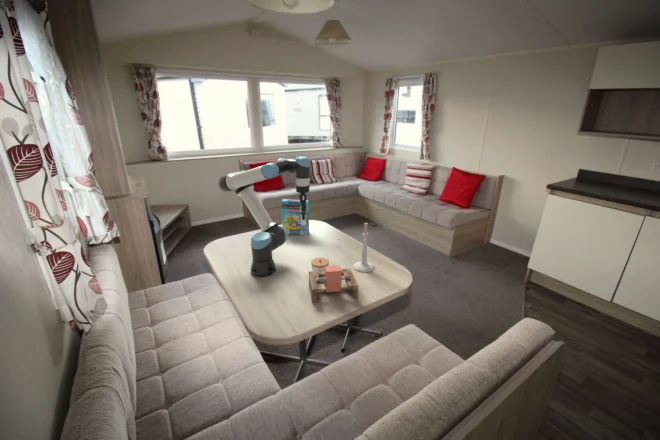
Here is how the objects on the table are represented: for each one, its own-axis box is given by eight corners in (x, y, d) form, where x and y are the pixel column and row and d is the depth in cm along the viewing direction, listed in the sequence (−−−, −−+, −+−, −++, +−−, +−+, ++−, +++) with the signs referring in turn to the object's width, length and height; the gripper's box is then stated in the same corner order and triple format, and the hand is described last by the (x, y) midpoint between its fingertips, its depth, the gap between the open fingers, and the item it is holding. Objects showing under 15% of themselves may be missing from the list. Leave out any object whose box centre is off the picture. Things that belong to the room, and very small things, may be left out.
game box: (282, 233, 241) (280, 200, 231) (284, 230, 246) (283, 198, 237) (307, 235, 237) (306, 202, 228) (309, 232, 243) (308, 200, 234)
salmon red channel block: (326, 292, 160) (326, 271, 156) (324, 286, 166) (324, 266, 162) (341, 290, 161) (341, 270, 157) (339, 284, 167) (339, 265, 163)
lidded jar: (316, 279, 178) (315, 265, 174) (308, 271, 187) (308, 257, 183) (332, 275, 182) (332, 261, 179) (324, 267, 191) (324, 253, 188)
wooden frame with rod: (312, 302, 156) (311, 286, 153) (308, 283, 173) (308, 268, 170) (357, 298, 160) (358, 282, 157) (350, 280, 177) (350, 265, 173)
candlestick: (378, 268, 189) (381, 224, 179) (361, 274, 183) (363, 228, 173) (365, 260, 200) (368, 217, 189) (349, 265, 194) (351, 221, 183)
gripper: (310, 190, 159) (310, 228, 167) (308, 179, 182) (308, 212, 190) (296, 191, 158) (297, 228, 166) (295, 179, 181) (296, 213, 189)
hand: (303, 220), depth 178 cm, fingers open, 13 cm apart
